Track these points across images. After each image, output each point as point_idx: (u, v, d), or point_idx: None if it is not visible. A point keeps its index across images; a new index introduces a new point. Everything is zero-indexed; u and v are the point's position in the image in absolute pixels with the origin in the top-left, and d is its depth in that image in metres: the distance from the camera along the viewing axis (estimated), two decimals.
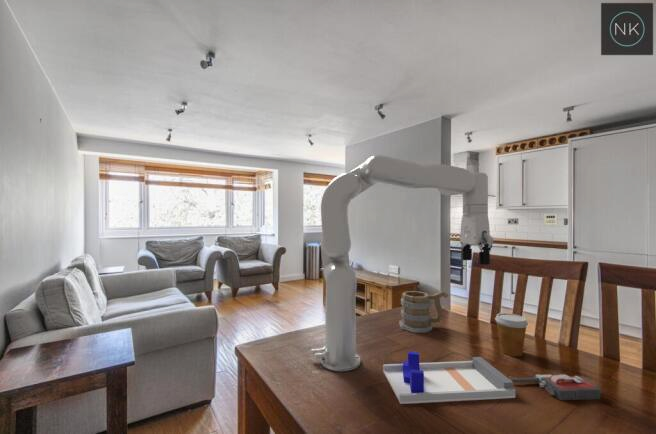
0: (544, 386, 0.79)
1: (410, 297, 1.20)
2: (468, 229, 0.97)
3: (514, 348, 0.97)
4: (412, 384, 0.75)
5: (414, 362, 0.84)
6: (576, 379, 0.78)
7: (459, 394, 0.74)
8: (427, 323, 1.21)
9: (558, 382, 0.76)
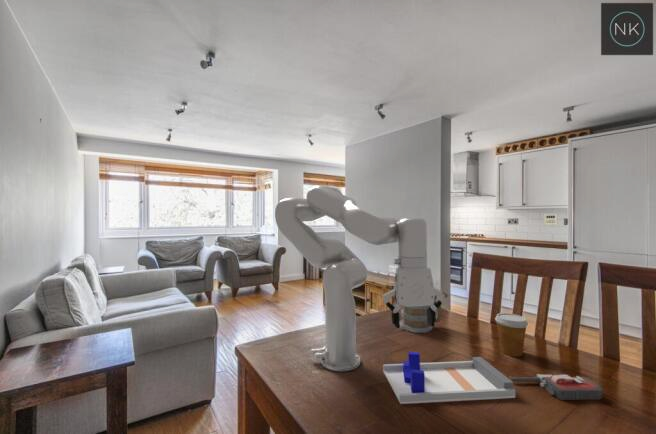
0: (544, 386, 0.79)
1: None
2: (419, 288, 0.78)
3: (514, 348, 0.97)
4: (413, 384, 0.75)
5: (415, 362, 0.84)
6: (577, 379, 0.78)
7: (459, 394, 0.74)
8: (427, 323, 1.21)
9: (558, 382, 0.76)
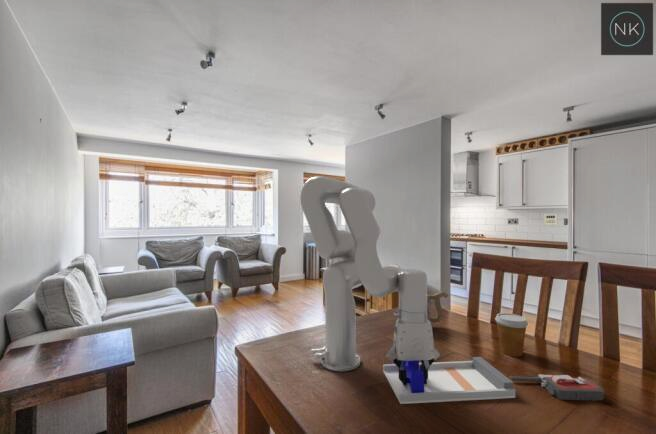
0: (545, 386, 0.79)
1: None
2: (419, 342, 0.78)
3: (514, 348, 0.97)
4: (412, 384, 0.75)
5: (414, 362, 0.84)
6: (579, 380, 0.77)
7: (459, 394, 0.74)
8: None
9: (558, 382, 0.76)
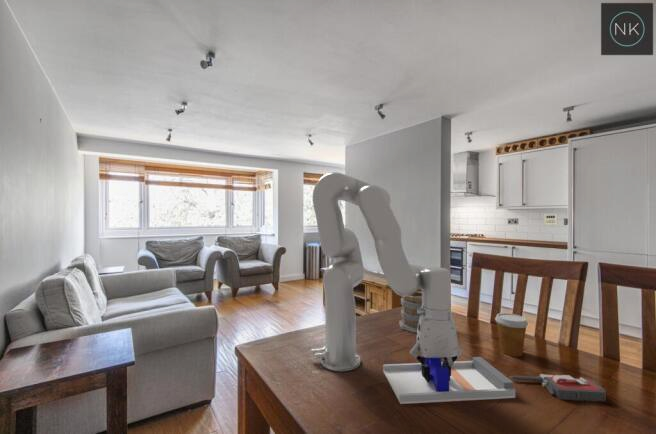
0: (546, 385, 0.79)
1: (410, 297, 1.20)
2: (443, 339, 0.79)
3: (514, 348, 0.97)
4: (437, 381, 0.75)
5: (436, 359, 0.85)
6: (581, 381, 0.77)
7: (459, 394, 0.74)
8: None
9: (558, 382, 0.76)
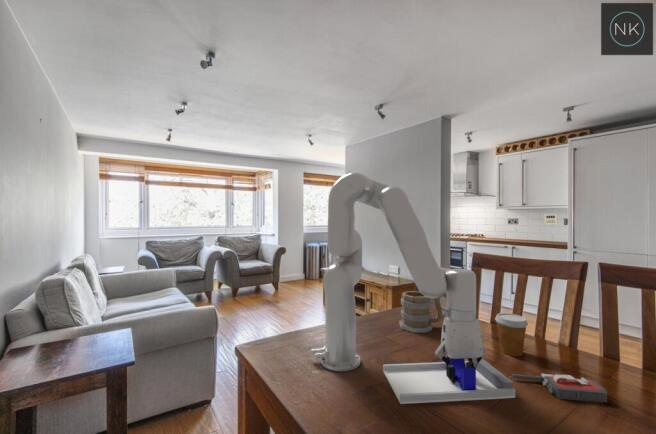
0: (546, 384, 0.80)
1: (410, 297, 1.20)
2: (469, 340, 0.79)
3: (514, 348, 0.97)
4: (464, 381, 0.76)
5: (459, 360, 0.85)
6: (582, 381, 0.77)
7: (459, 394, 0.74)
8: (427, 323, 1.21)
9: (558, 381, 0.77)
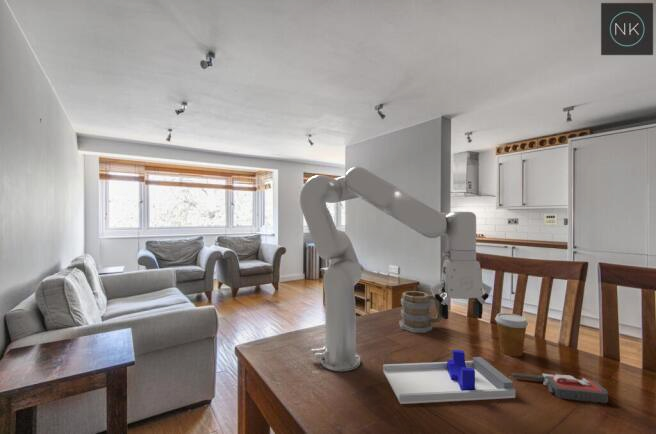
0: (547, 384, 0.80)
1: (410, 297, 1.20)
2: (469, 280, 0.79)
3: (514, 348, 0.97)
4: (463, 381, 0.76)
5: (460, 360, 0.85)
6: (583, 381, 0.77)
7: (459, 394, 0.74)
8: (427, 323, 1.21)
9: (558, 381, 0.77)
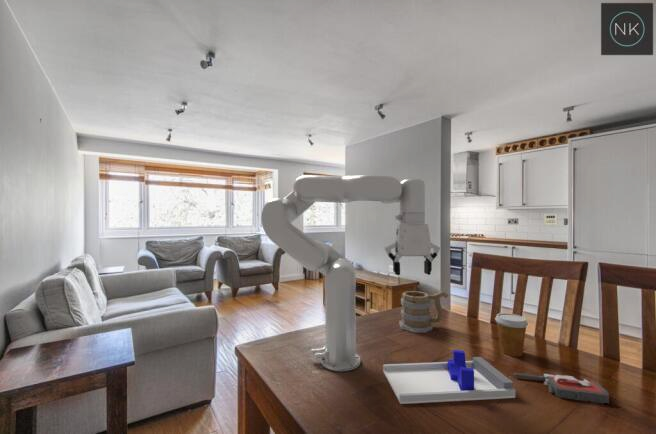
0: (547, 384, 0.80)
1: (410, 297, 1.20)
2: (418, 239, 0.89)
3: (514, 348, 0.97)
4: (462, 381, 0.76)
5: (460, 360, 0.85)
6: (584, 382, 0.77)
7: (459, 394, 0.74)
8: (427, 323, 1.21)
9: (559, 382, 0.77)
